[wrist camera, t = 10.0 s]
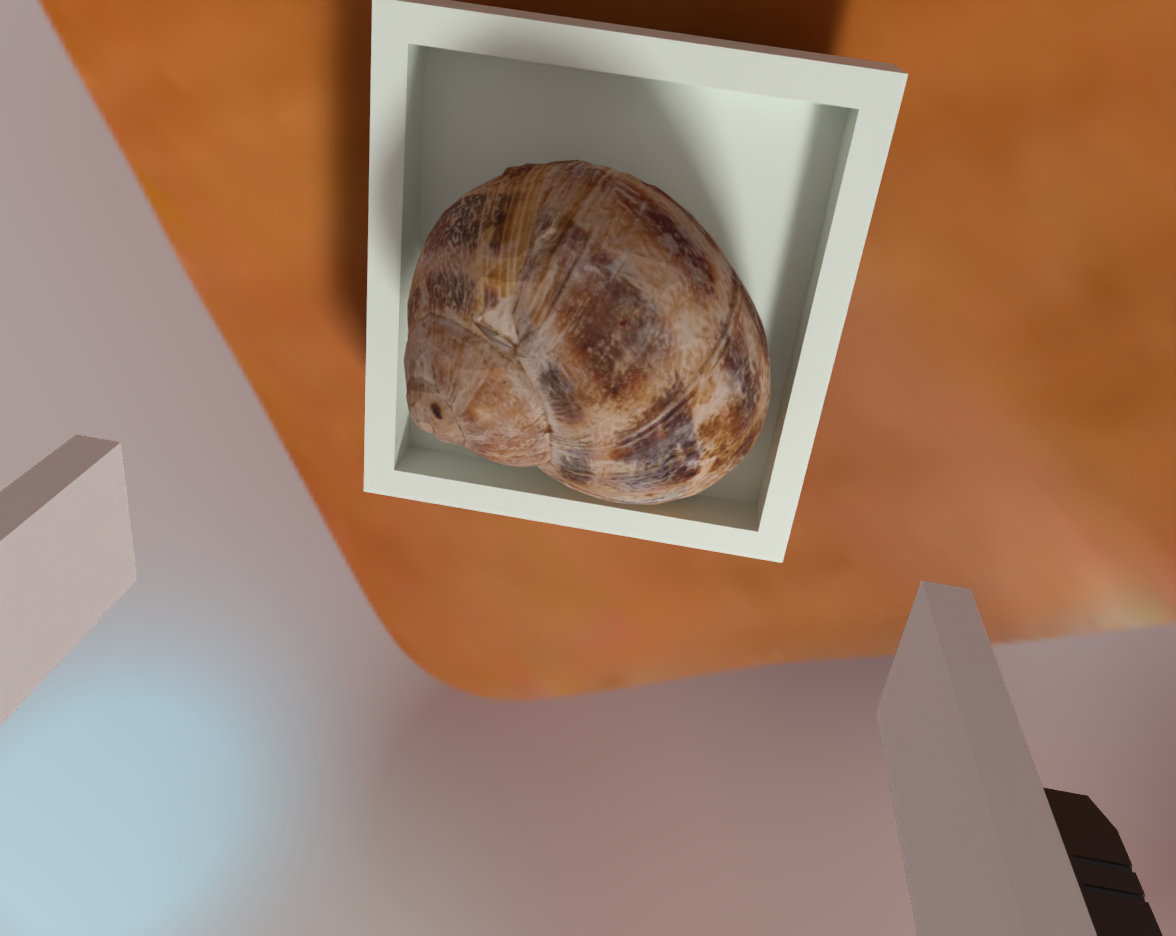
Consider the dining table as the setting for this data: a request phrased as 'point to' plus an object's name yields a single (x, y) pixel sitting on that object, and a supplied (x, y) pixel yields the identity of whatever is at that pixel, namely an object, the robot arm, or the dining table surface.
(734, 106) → the shallow white square tray
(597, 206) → the seashell
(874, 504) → the dining table surface
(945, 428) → the dining table surface
